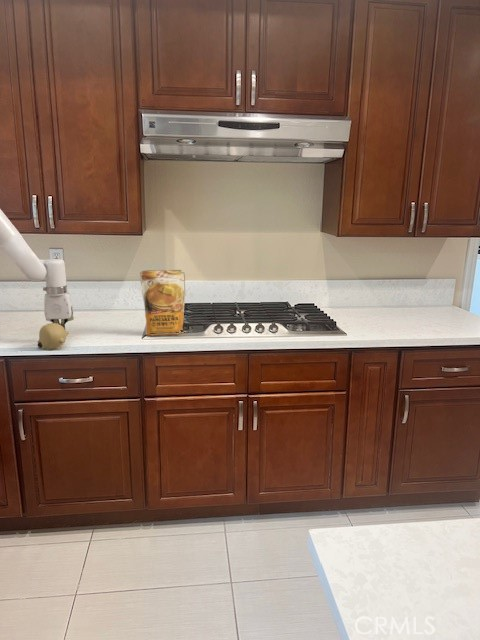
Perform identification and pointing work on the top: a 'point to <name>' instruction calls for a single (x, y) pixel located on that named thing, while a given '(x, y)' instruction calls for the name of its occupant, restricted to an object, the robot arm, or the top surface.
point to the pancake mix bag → (163, 301)
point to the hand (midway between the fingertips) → (61, 334)
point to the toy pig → (52, 336)
